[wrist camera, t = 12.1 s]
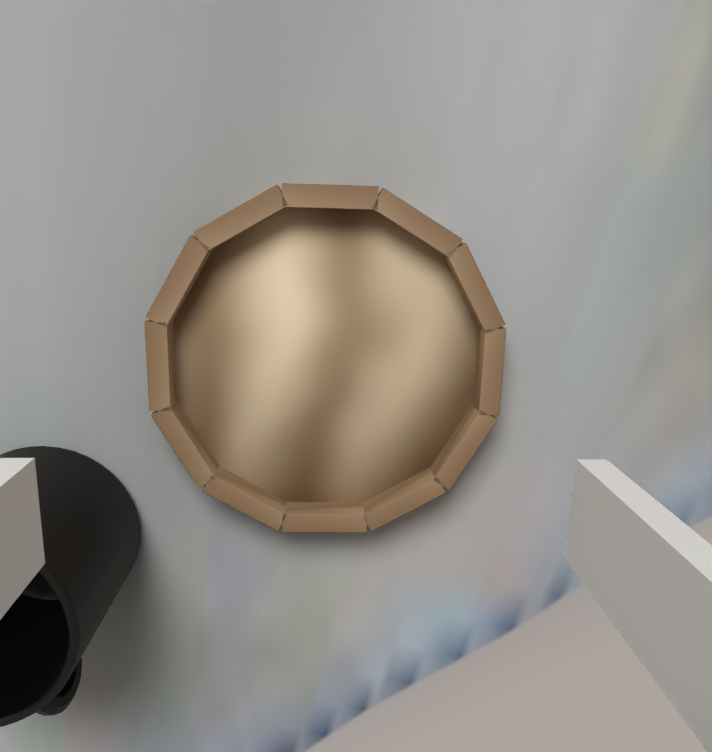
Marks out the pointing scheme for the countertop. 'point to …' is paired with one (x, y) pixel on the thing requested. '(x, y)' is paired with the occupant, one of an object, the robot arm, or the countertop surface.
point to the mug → (65, 581)
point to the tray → (324, 358)
